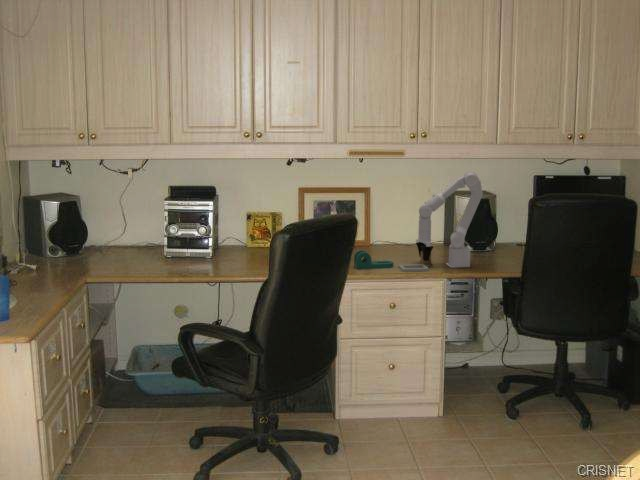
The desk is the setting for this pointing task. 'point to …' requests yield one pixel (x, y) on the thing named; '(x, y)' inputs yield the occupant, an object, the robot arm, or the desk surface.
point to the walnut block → (425, 261)
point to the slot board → (413, 267)
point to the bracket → (369, 261)
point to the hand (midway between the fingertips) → (424, 258)
